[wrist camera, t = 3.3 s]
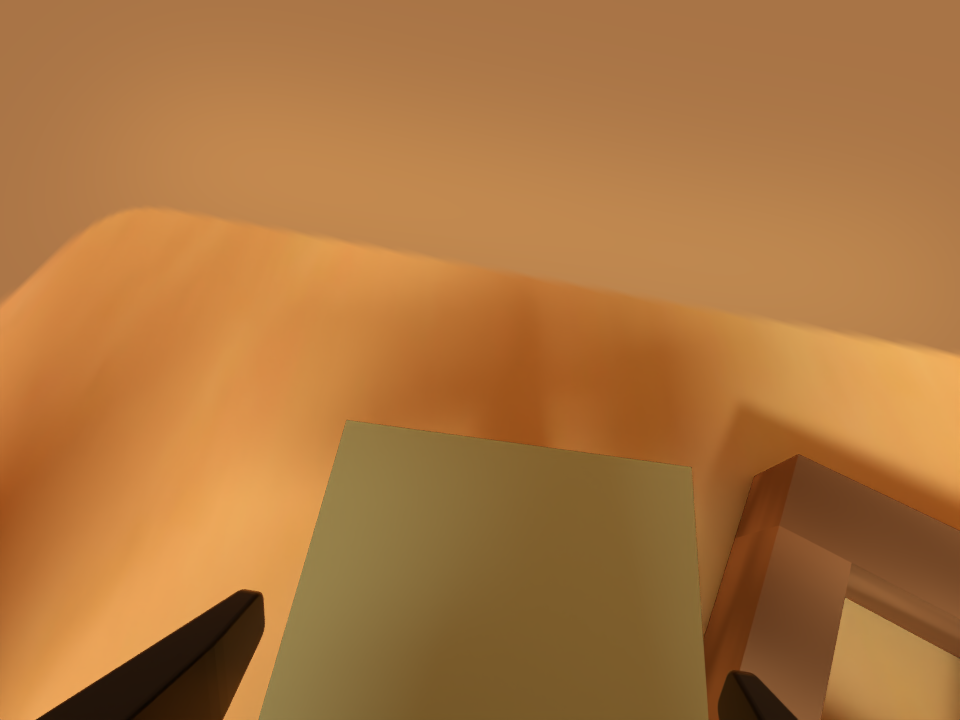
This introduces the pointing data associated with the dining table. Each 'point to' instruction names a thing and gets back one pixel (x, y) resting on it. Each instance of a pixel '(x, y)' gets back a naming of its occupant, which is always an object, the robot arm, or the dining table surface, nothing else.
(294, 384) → the dining table surface
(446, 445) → the square bit
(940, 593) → the socket board
